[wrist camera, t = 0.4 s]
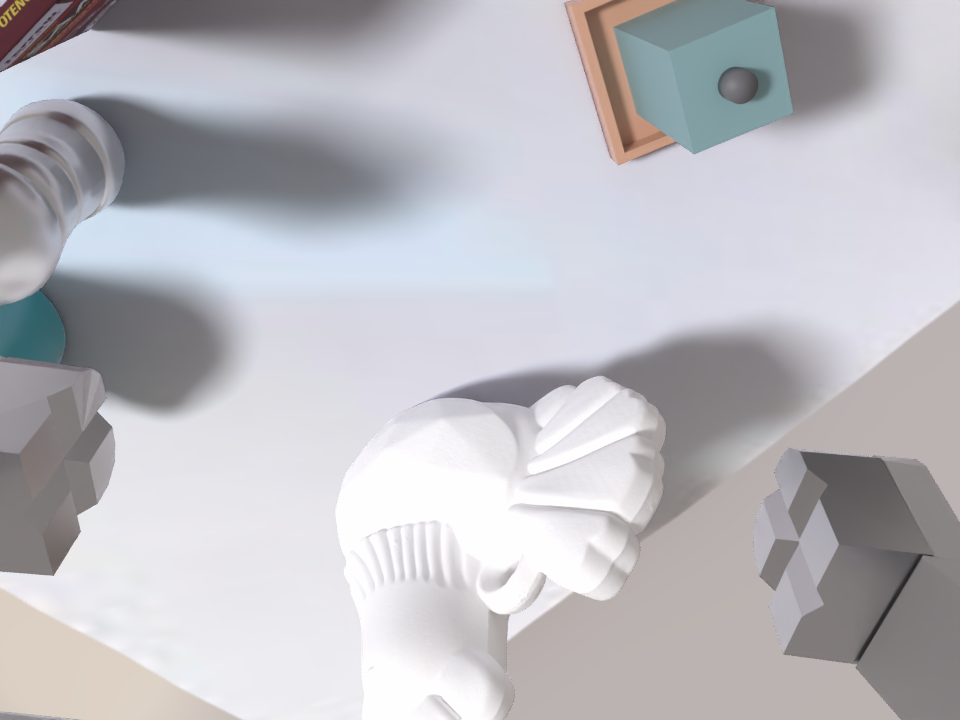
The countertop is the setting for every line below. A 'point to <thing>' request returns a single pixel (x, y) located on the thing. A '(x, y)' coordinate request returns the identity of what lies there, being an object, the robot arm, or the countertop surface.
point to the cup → (32, 330)
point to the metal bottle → (51, 187)
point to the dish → (613, 74)
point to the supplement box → (43, 25)
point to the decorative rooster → (488, 534)
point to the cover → (706, 69)
